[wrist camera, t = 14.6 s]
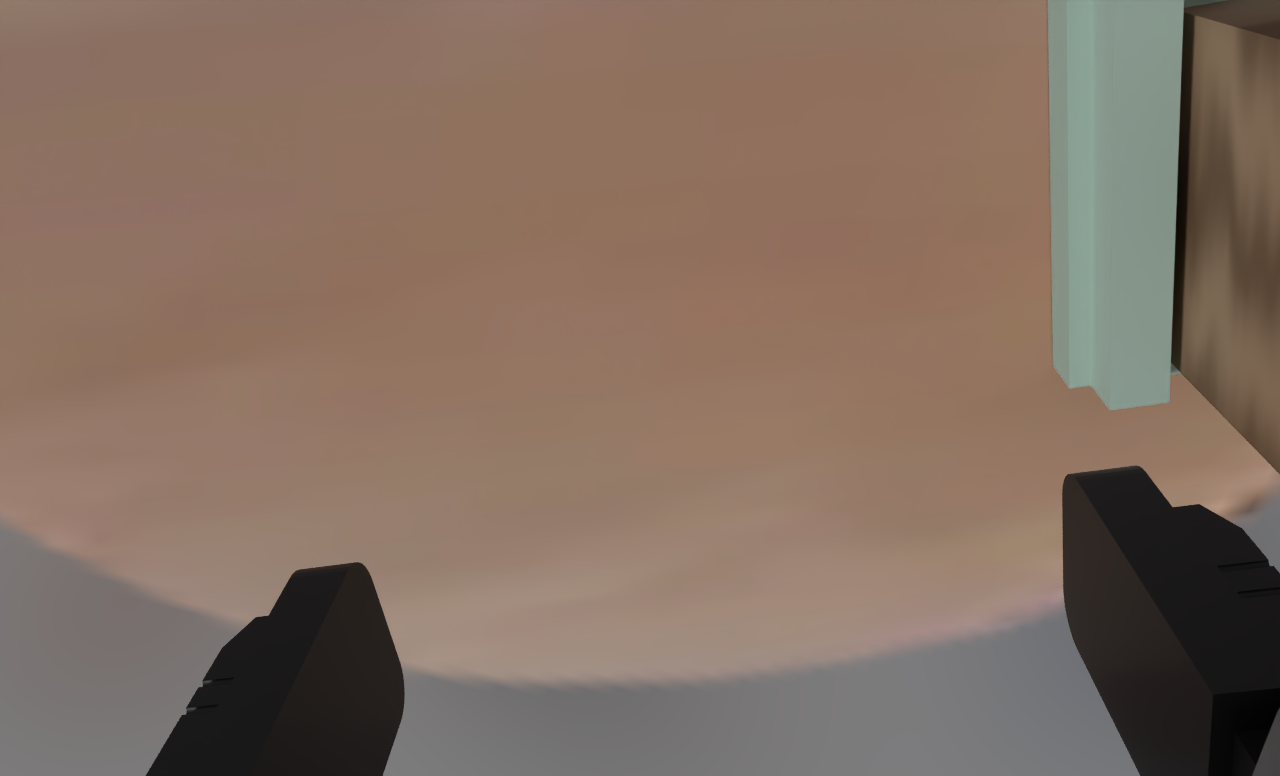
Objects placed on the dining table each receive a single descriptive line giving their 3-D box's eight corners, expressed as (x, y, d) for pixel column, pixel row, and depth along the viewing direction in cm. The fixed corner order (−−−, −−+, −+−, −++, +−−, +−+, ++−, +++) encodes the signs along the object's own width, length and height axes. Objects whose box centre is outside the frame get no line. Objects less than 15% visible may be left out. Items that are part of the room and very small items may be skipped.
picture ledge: (1047, -18, 36) (1088, -5, 32) (1369, -74, 35) (1448, -67, 31) (1053, 365, 42) (1087, 413, 38) (1328, 328, 40) (1390, 373, 37)
